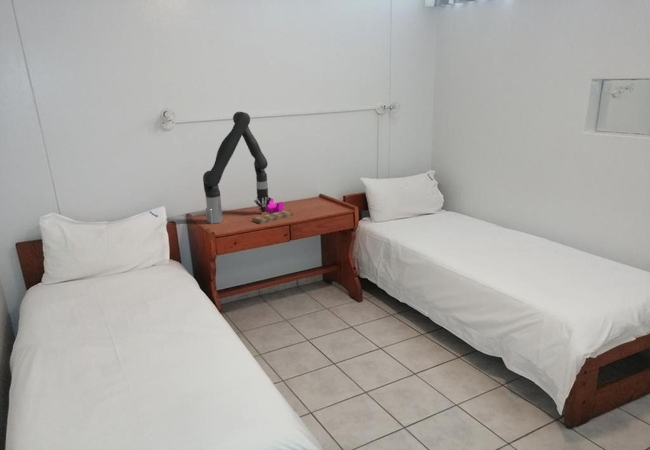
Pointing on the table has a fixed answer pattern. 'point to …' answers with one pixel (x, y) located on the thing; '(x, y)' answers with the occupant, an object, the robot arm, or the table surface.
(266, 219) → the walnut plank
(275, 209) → the toy block
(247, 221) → the table surface
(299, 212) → the table surface
